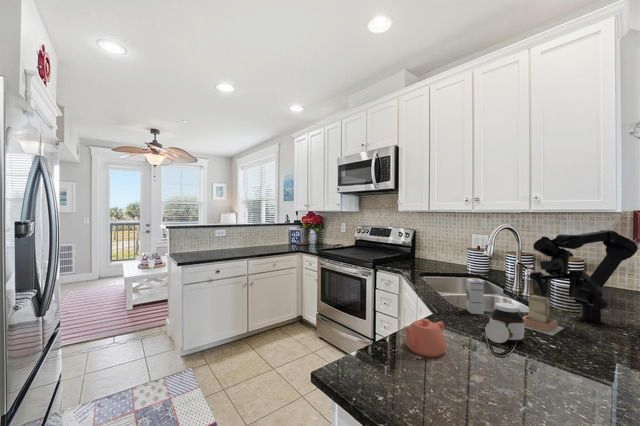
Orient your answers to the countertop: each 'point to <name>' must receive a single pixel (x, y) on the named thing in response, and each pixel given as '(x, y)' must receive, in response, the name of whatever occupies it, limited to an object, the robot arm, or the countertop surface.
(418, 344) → the teapot
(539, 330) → the pink rectangular tray
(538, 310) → the maple peg
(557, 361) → the countertop surface
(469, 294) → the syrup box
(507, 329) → the spread jar
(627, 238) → the robot arm
